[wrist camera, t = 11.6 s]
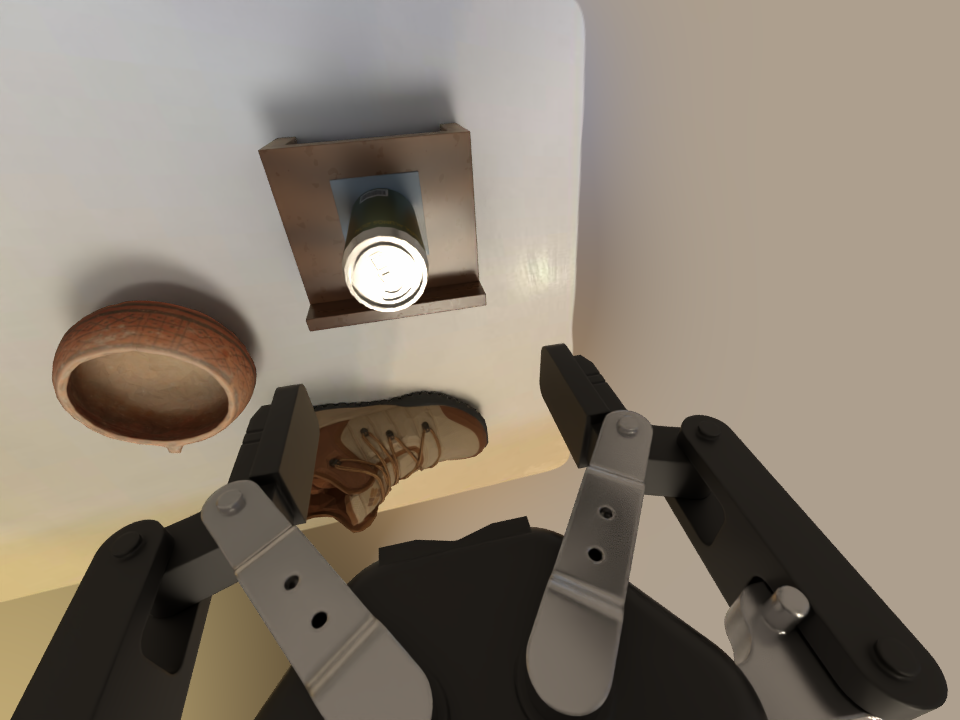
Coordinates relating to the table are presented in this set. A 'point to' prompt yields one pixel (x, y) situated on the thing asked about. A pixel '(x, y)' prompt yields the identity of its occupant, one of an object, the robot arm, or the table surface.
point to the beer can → (384, 252)
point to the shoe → (385, 450)
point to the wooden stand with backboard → (349, 174)
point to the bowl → (153, 374)
